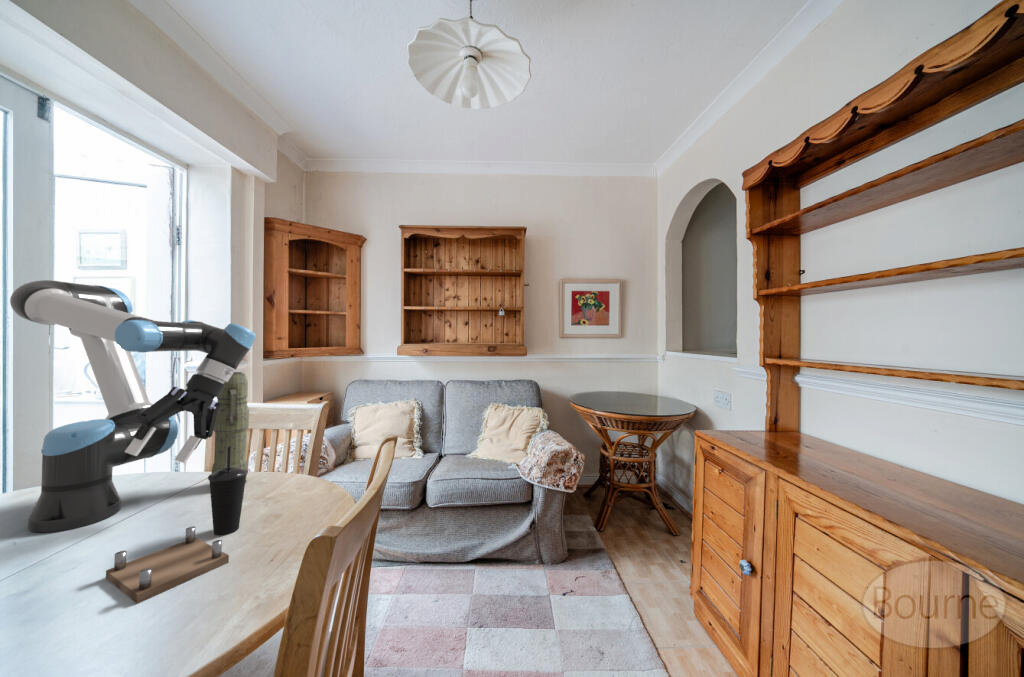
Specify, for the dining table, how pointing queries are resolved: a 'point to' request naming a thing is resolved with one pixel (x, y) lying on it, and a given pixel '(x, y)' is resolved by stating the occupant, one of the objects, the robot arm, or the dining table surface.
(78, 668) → the dining table surface
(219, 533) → the drinking cup
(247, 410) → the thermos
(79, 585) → the dining table surface
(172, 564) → the peg board
